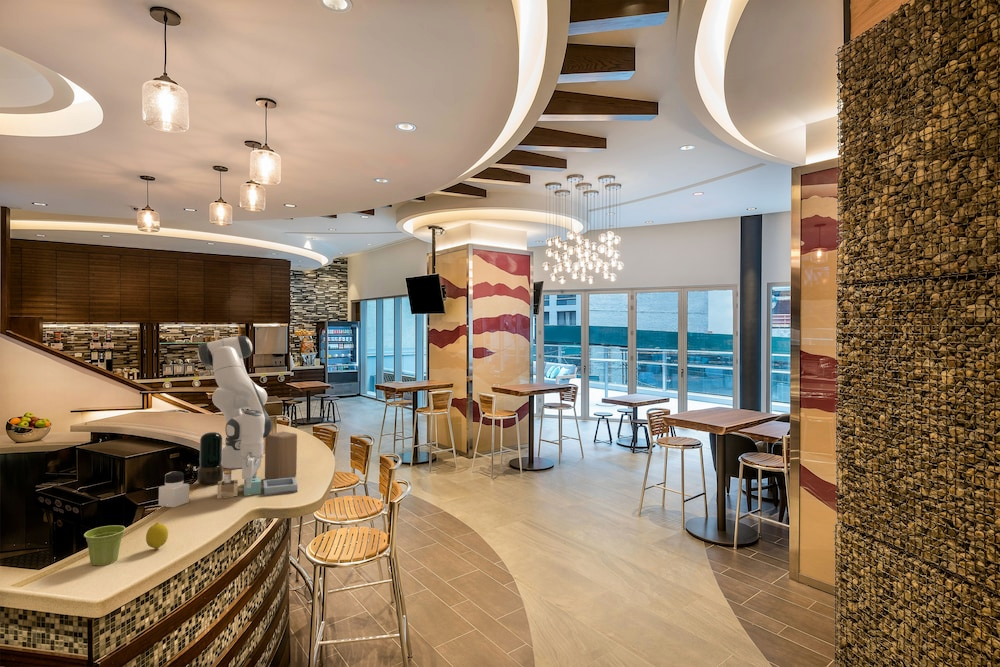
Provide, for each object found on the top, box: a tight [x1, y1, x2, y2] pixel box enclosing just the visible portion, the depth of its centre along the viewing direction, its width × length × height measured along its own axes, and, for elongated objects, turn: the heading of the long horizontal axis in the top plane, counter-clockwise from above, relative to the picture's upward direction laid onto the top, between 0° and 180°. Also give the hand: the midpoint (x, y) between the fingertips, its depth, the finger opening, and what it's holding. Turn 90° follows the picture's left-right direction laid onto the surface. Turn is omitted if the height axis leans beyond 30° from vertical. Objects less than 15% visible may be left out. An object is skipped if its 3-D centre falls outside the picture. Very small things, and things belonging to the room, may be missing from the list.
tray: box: [262, 476, 298, 496], centre depth 217 cm, size 12×12×3 cm
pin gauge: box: [223, 469, 233, 485], centre depth 209 cm, size 3×3×10 cm
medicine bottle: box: [158, 470, 190, 508], centre depth 197 cm, size 7×7×12 cm
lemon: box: [145, 522, 169, 550], centre depth 156 cm, size 6×6×8 cm
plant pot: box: [83, 524, 127, 566], centre depth 147 cm, size 9×9×9 cm
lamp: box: [197, 431, 224, 486], centre depth 225 cm, size 10×10×22 cm
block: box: [264, 431, 298, 480], centre depth 235 cm, size 10×10×20 cm
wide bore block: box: [216, 479, 238, 499], centre depth 209 cm, size 7×7×5 cm
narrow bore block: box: [243, 477, 262, 496], centre depth 213 cm, size 6×6×5 cm
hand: (251, 484), depth 212 cm, fingers open, 8 cm apart
